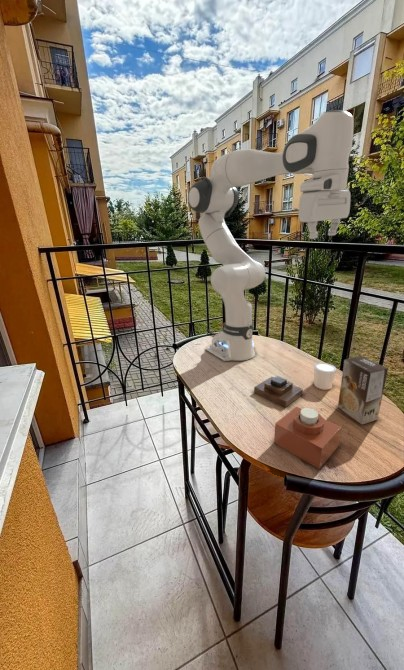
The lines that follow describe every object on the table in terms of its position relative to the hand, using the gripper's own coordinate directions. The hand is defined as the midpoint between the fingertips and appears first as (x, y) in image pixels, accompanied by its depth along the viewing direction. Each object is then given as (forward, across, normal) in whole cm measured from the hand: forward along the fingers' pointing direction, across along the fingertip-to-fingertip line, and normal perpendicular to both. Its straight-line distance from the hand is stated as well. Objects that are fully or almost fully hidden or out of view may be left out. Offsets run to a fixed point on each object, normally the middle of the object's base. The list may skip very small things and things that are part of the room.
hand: (322, 237), depth 82 cm
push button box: (+46, +29, +20) cm, 58 cm away
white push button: (+39, +29, +19) cm, 52 cm away
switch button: (+44, +16, 0) cm, 47 cm away
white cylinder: (+48, 0, +7) cm, 49 cm away
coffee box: (+48, +7, +22) cm, 53 cm away
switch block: (+48, +16, 0) cm, 50 cm away
